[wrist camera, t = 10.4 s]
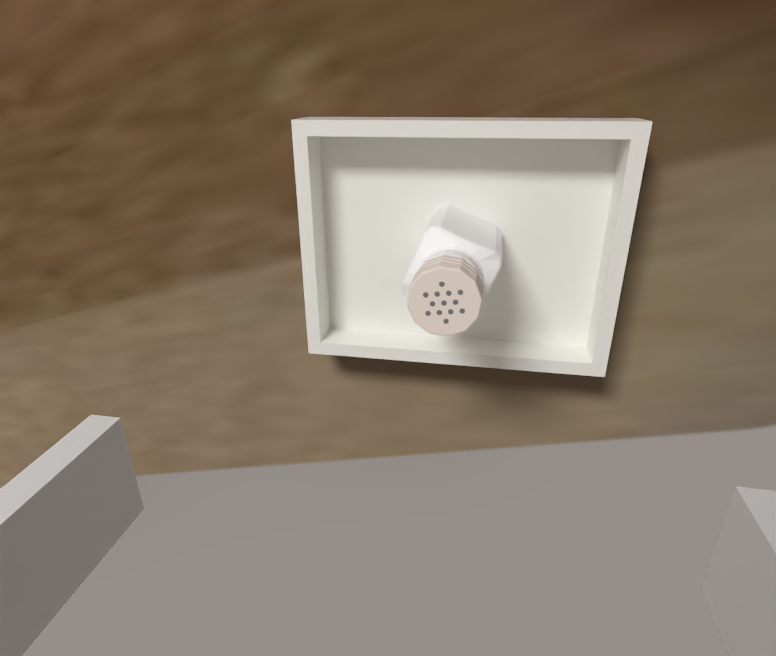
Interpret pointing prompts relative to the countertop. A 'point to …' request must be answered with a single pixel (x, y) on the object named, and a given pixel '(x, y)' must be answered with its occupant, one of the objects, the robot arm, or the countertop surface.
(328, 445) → the countertop surface
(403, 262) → the bin
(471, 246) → the salt shaker
